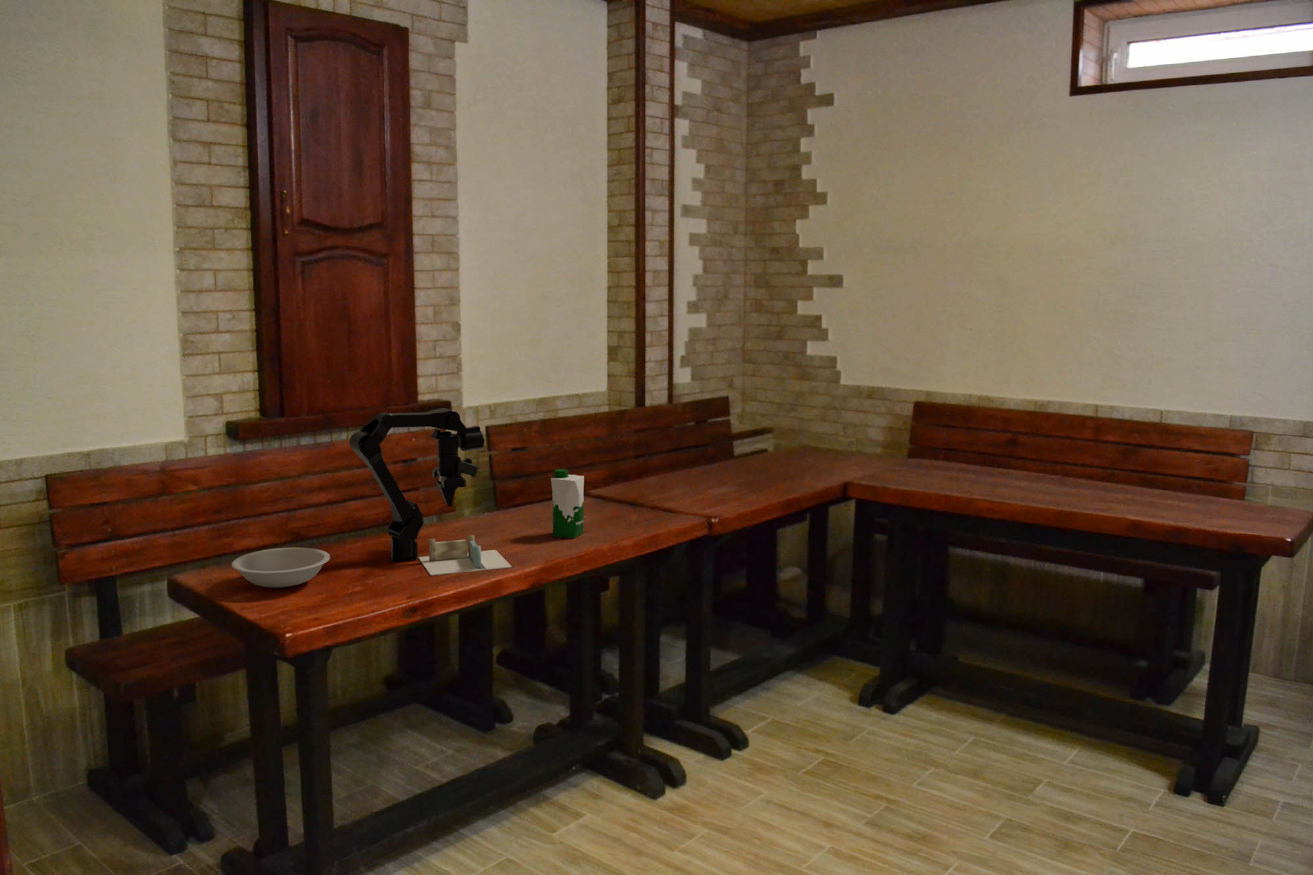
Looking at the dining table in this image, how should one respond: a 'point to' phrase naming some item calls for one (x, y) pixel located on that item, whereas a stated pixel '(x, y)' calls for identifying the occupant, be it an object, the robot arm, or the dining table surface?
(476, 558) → the fence flap
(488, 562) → the card
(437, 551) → the fence fixed
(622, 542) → the dining table surface
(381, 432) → the robot arm
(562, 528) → the milk carton
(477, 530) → the dining table surface
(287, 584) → the soup bowl
